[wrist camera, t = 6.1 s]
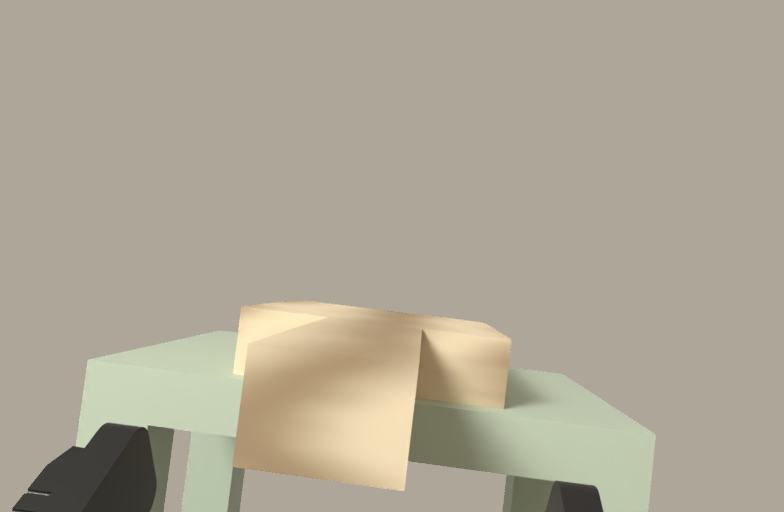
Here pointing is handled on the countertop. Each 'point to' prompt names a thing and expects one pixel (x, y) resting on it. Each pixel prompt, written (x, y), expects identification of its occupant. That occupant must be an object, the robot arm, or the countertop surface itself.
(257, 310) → the cheese board
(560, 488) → the robot arm
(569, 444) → the mint green side table
